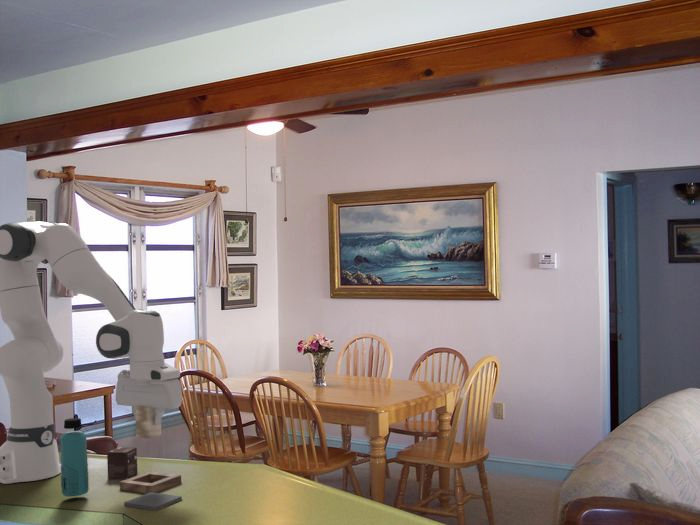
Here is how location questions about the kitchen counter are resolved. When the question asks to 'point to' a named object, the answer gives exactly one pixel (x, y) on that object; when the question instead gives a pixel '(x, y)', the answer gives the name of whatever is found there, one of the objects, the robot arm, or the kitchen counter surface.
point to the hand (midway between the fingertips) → (148, 424)
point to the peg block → (146, 423)
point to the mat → (153, 501)
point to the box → (122, 463)
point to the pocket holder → (142, 486)
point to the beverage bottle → (74, 460)
